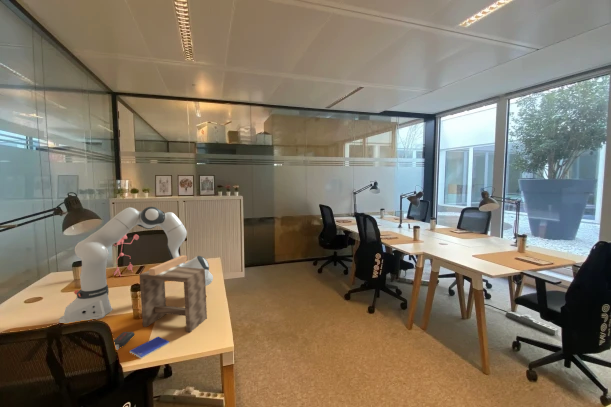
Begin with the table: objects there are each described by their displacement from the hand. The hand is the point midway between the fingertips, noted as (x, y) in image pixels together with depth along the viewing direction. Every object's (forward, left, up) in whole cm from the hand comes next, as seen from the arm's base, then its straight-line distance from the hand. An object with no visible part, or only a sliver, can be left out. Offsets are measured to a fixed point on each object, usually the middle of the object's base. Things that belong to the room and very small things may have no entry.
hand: (180, 269), depth 157 cm
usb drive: (-33, -10, -23) cm, 41 cm away
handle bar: (-7, -4, +4) cm, 9 cm away
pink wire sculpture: (-1, +97, -23) cm, 99 cm away
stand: (-9, -10, -23) cm, 26 cm away
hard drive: (-26, -23, -23) cm, 42 cm away
